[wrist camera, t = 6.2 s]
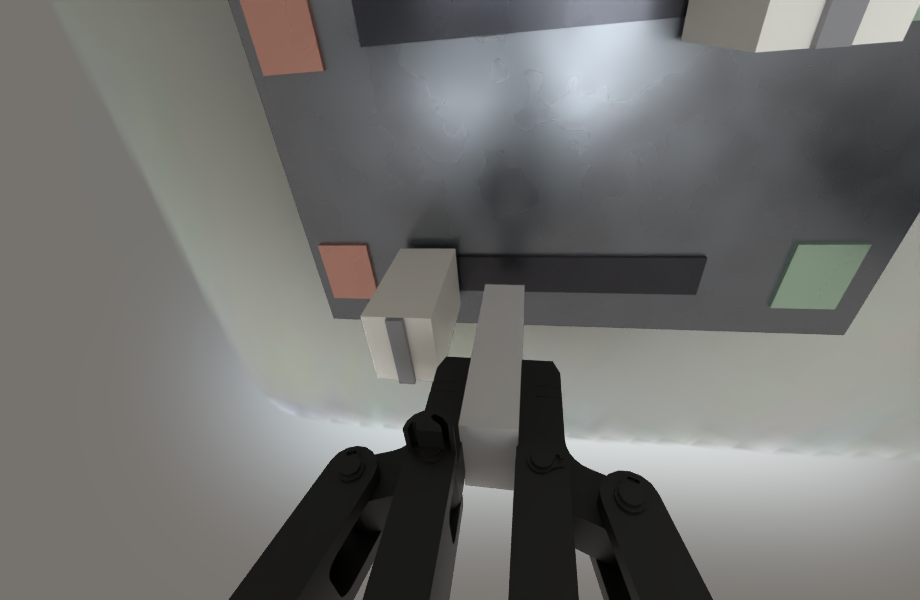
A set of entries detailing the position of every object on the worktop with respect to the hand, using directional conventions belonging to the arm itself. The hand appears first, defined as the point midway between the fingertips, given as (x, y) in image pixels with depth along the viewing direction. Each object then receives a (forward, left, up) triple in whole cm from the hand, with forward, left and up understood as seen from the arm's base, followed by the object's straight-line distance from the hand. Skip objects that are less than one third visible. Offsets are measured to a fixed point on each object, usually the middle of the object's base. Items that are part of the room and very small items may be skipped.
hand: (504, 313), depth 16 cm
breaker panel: (-5, +2, -5) cm, 8 cm away
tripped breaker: (0, -4, -3) cm, 4 cm away
